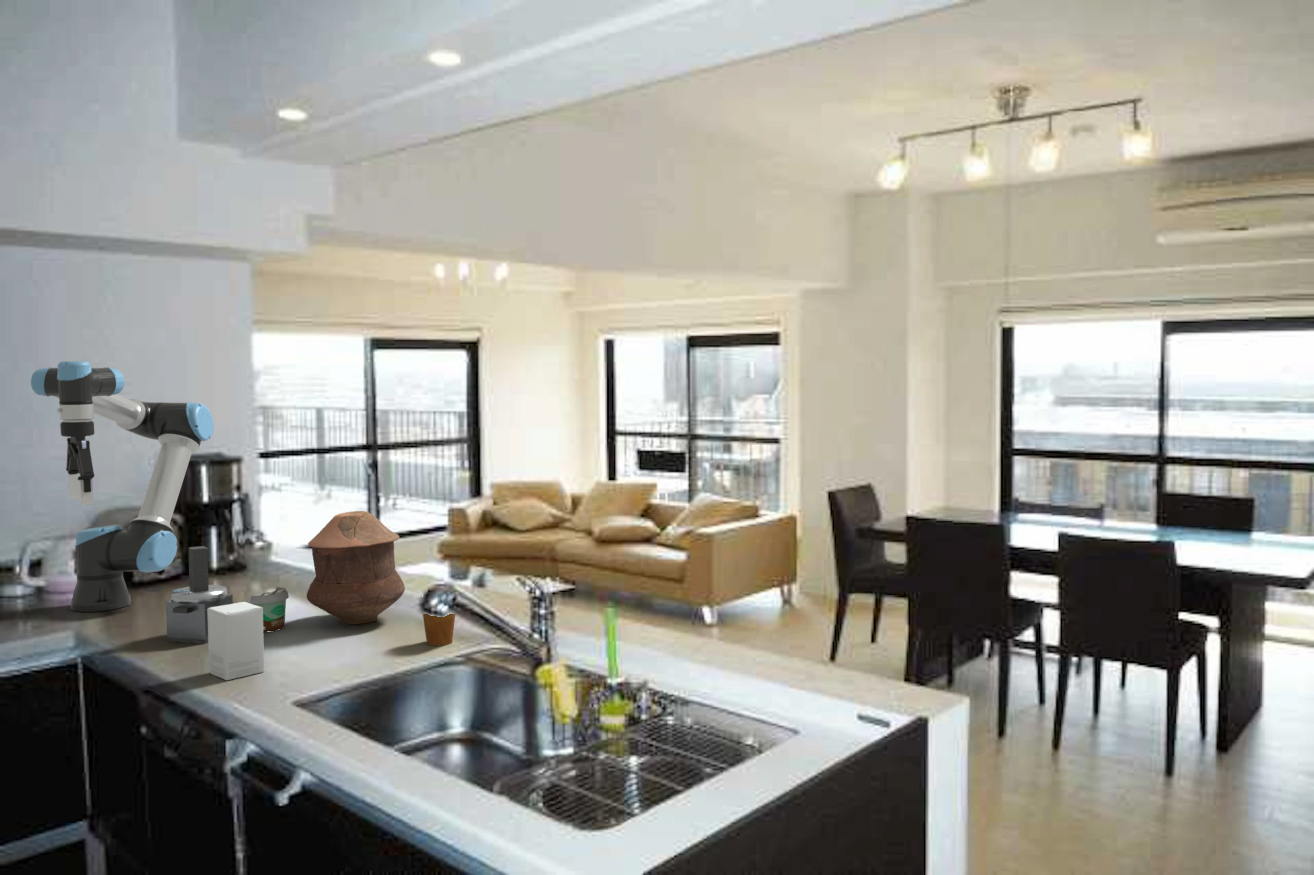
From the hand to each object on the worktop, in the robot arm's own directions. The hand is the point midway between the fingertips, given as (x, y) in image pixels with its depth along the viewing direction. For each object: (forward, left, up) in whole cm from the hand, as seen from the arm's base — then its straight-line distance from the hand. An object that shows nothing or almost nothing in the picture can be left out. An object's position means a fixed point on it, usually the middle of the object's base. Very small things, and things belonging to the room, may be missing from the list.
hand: (81, 501), depth 254 cm
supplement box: (+25, +62, -34) cm, 75 cm away
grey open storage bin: (0, +34, -34) cm, 48 cm away
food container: (-11, +48, -34) cm, 60 cm away
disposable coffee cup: (-8, +96, -34) cm, 103 cm away
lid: (0, +34, -24) cm, 42 cm away
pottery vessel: (-23, +65, -34) cm, 77 cm away
